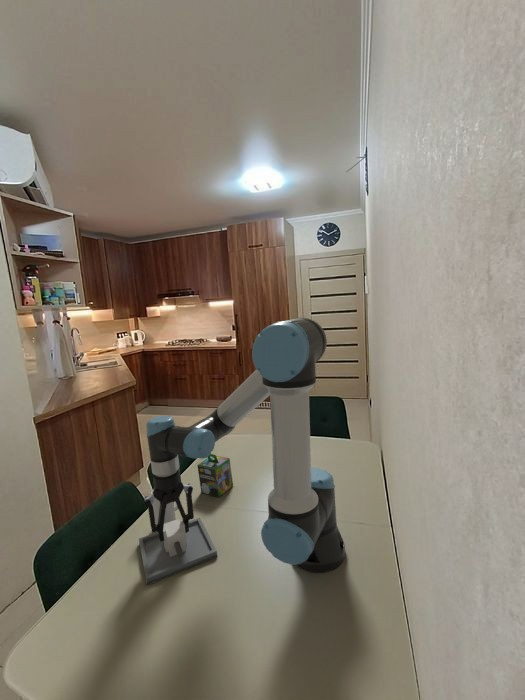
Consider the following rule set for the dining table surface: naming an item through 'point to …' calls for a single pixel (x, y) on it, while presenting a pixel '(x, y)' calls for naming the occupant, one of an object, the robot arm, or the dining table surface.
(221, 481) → the chalk box
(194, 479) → the dining table surface
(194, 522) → the tray
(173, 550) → the connector
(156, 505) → the mug
